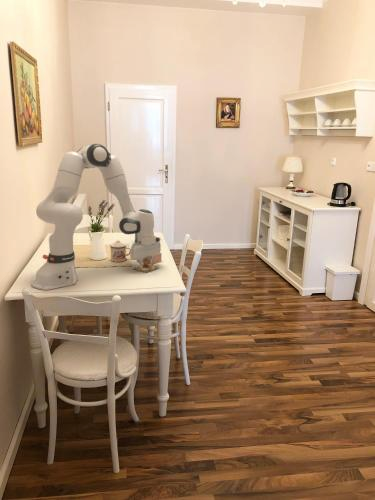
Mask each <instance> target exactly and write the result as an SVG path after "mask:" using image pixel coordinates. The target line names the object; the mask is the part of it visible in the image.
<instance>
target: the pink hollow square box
mask: <svg viewBox="0 0 375 500" xmlns="http://www.w3.org/2000/svg"><path fill="white" fill-rule="evenodd" d="M143 259H148V260H149V257H145V258H142V262H143ZM136 262H137V263H139V261H138V260H136ZM160 262H162V252H160V253H159V254H155V255H153V259H152V263H150V264H151V265H154V264H157V263H160ZM148 264H149V263H148Z"/></svg>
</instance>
